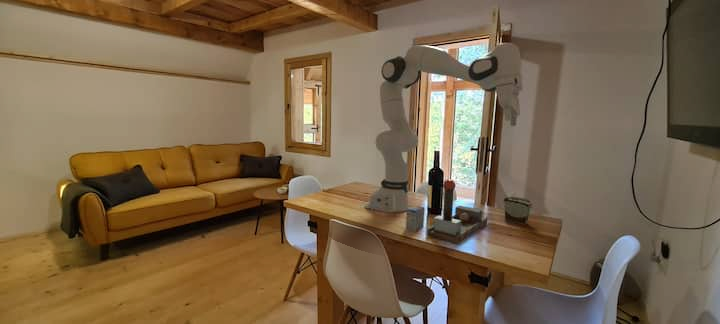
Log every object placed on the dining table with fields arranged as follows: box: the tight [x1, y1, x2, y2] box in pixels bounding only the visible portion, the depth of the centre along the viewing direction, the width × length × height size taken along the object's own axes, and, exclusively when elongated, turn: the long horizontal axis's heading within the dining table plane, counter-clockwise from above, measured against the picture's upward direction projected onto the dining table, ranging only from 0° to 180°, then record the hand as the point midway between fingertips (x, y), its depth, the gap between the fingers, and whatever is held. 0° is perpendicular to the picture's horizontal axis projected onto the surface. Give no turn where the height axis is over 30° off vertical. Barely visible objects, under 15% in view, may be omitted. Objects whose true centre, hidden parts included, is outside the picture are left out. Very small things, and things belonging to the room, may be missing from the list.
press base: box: [426, 205, 488, 246], centre depth 126 cm, size 30×12×7 cm, turn 138°
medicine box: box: [405, 204, 425, 232], centre depth 127 cm, size 8×4×9 cm, turn 145°
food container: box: [502, 196, 533, 226], centre depth 138 cm, size 12×6×10 cm, turn 34°
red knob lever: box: [433, 179, 461, 236], centre depth 117 cm, size 4×9×20 cm, turn 48°
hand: (511, 123), depth 112 cm, fingers open, 8 cm apart
